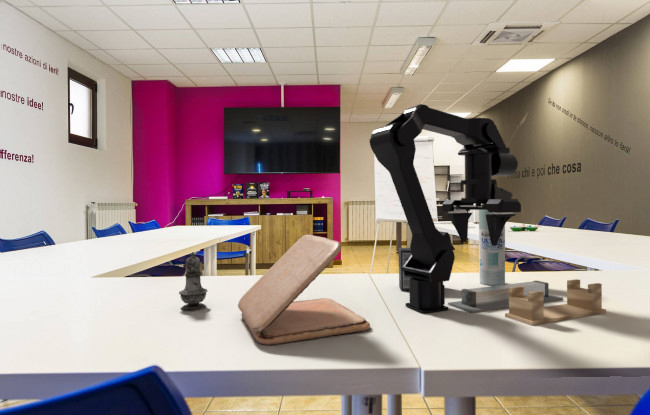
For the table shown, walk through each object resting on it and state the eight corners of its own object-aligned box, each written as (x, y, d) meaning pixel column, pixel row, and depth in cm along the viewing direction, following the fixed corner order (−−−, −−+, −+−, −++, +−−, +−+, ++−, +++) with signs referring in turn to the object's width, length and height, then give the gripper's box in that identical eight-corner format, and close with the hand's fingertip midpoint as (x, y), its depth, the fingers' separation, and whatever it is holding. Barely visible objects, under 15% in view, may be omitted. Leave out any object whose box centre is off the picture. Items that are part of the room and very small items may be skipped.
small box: (439, 286, 102) (438, 246, 102) (444, 291, 96) (443, 249, 96) (398, 286, 103) (398, 246, 103) (400, 291, 97) (400, 249, 97)
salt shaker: (173, 309, 82) (172, 253, 82) (194, 303, 88) (193, 250, 87) (193, 312, 80) (192, 254, 80) (213, 306, 85) (212, 251, 85)
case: (236, 315, 79) (234, 236, 78) (332, 304, 86) (331, 231, 86) (254, 351, 59) (252, 247, 59) (376, 333, 67) (375, 240, 67)
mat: (471, 312, 77) (471, 310, 77) (448, 304, 84) (448, 302, 84) (562, 299, 87) (562, 297, 87) (535, 292, 93) (535, 291, 93)
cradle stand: (532, 325, 69) (531, 293, 69) (504, 316, 74) (504, 287, 74) (606, 312, 76) (605, 284, 76) (576, 305, 82) (576, 278, 82)
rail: (472, 307, 80) (472, 292, 80) (461, 303, 82) (461, 289, 82) (548, 296, 88) (548, 282, 88) (536, 293, 91) (536, 280, 91)
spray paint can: (478, 285, 103) (478, 209, 103) (479, 280, 109) (479, 209, 109) (505, 286, 100) (505, 209, 100) (505, 282, 106) (504, 209, 106)
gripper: (539, 172, 83) (540, 245, 83) (475, 178, 100) (476, 238, 100) (500, 171, 79) (500, 248, 79) (440, 178, 96) (441, 241, 96)
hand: (478, 243), depth 89 cm, fingers open, 9 cm apart
